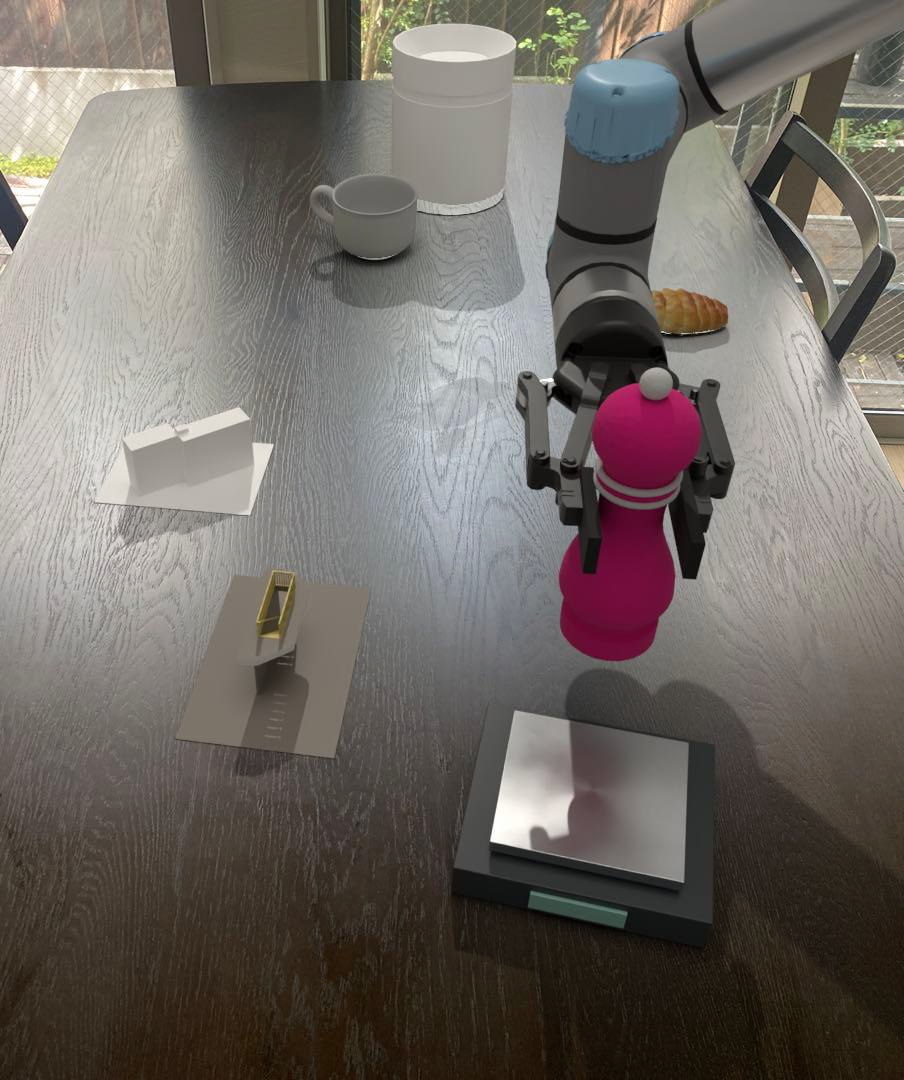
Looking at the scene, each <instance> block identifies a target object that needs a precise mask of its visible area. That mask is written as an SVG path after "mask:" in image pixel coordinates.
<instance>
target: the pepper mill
mask: <svg viewBox="0 0 904 1080" xmlns="http://www.w3.org/2000/svg"><path fill="white" fill-rule="evenodd" d="M672 386H673V380H672V377H671V375H670V374H669V373H668V371H666V370H665V369H662V368H651V369H649V370H647V371H646V372H645V373H644V374H643V375H642V377H641V378H640V382H639V383H635V384H631V385H628V386H625V387H623V388H620V389H618V390H616V391H615V392H613V393H612V394H611V395H609V396H608V398H607V399H606V400H605V401H604V402H603V403H602V404H601V406H600V408H599V410H598V411H597V413H596V416H595V419H594V423H593V427H592V445H593V449H594V451H595V453H596V455H597V457H596V459H595V464H594V474H593V481H594V484H595V486H596V491H598V493H599V494H598V498H597V500H598V508H599V516H600V524H601V532H602V543H601V548H600V554H599V559H598V565H597V570H596V574H582V565H581V554H580V544H579V534H578V533H577V534H576V535H575V536H574V538H573V539H572V540H571V542H570V544H569V546H568V548H567V549H566V551H565V552H564V554H563V557H562V560H561V564H560V569H559V572H558V585H559V590H560V593H561V595H562V597H563V598H562V603H561V607H560V615H559V628H560V631H561V634H562V635H563V637H564V638H565V640H566V641H567V642H568V643H569V645H570V646H571V647H573V648H574V649H576V650H577V651H578V652H580V653H581V654H583V655H585V656H587V657H590V658H591V659H592V658H593V659H596V660H600V661H605V662H623V661H628V660H633V659H636V658H638V657H639V656H641V655H643V654H645V652H647V651H648V650H649V649H650V648H651V646H652V645H653V643H654V642H655V638H656V634H657V629H658V627H659V623H660V617H661V616H663V615H664V613H665V612H666V611H667V610H668V608H669V607H670V605H671V603H672V601H673V598H674V595H675V594H674V593H675V587H676V577H677V576H676V569H675V562H674V561H675V560H674V558H673V555H672V552H671V550H670V546H669V544H668V541H667V538H666V534H665V529H664V519H665V513H666V510H667V508H668V504H669V503H670V502H672V501H673V500H674V499H675V498H676V497H677V495H678V493H679V491H680V483H681V481H682V478H683V470H684V469H685V468H687V467H688V466H689V464H690V463H691V462H692V461H693V459H694V458H695V456H696V455H697V452H698V449H699V446H700V441H701V424H700V419H699V415H698V413H697V411H696V409H695V407H694V406H693V404H692V403H691V402H690V401H689V400H688V399H687V398H686V397H685V396H684V395H683V394H681V393H680V392H678V391H677V390H675V389H672Z"/></svg>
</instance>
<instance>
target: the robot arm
mask: <svg viewBox="0 0 904 1080" xmlns="http://www.w3.org/2000/svg"><path fill="white" fill-rule="evenodd" d="M902 30H904V0H725V1H723V2H721V3H719V4H718V5H716V6H714V7H712V8H710V9H708V10H706V11H705V12H703V13H701V14H699V15H697V16H695V17H694V18H693V19H692V20H689V21H687V22H685V23H683V24H681V25H678V26H677V27H675V28H673V29H671V30H662V31H656V32H652V33H649V34H647V35H645V36H642V37H641V38H640V39H638V40H637V41H636V42H634V43H633V44H632V45H630V46H629V47H627V48H626V49H625V50H624V51H623V53H622V54H621V55H620V57H618V58H609V59H603V60H599V61H598V62H596V63H591V64H588V65H586V66H584V67H582V68H581V70H580V71H578V73H577V74H576V76H575V77H574V79H573V83H572V88H571V92H570V93H571V94H570V100H569V105H568V110H567V111H566V113H565V118H564V124H563V126H564V127H565V128H564V134H565V135H564V143H563V153H562V163H561V170H560V180H559V190H558V199H557V209H556V215H555V218H554V227H553V231H552V233H551V234H550V237H549V241H548V244H547V250H546V262H545V265H544V269H545V278H546V279H547V283H548V287H549V297H550V306H551V317H552V328H553V329H552V331H553V343H554V354H555V365H556V369H555V371H554V372H553V374H552V377H546V378H540V379H539V377H538V375H536V373H534V372H533V371H529V370H524V371H520V372H519V373H518V375H517V385H516V393H515V404H514V406H515V408H516V411H518V413H519V415H520V416H521V417H522V419H523V421H524V445H525V446H524V447H525V449H524V450H525V473H526V474H525V477H526V486H527V487H528V488H529V489H530V490H534V491H541V490H544V489H545V488H550V489H552V490H554V491H555V496H554V503H555V504H556V506H558V512H559V513H558V515H559V521H560V523H561V524H562V526H564V527H565V526H567V527H577V534H579V544H580V554H581V565H582V574H596V570H597V565H598V559H599V554H600V548H601V543H602V532H601V524H600V516H599V508H598V493H597V489H596V486H595V484H594V481H593V474H594V471H595V466H586V463H587V460H588V457H589V453H590V450H591V446H592V445H593V441H592V427H593V423H594V419H595V416H596V413H597V411H598V410H599V408H600V406H601V404H602V403H603V402H604V401H605V400H606V399H607V398H608V396H609V395H611V394H612V393H613V392H615V391H616V390H618V389H620V388H623V387H625V386H628V385H631V384H635V383H639V382H640V378H641V377H642V375H643V374H644V373H645V372H646V371H647V370H649V369H651V368H662V369H665V370H666V371H668V373H669V374H670V375H671V377H672V380H673V386H672V389H675V390H677V391H678V392H680V393H681V394H683V395H684V396H685V397H686V398H687V399H688V400H689V401H690V402H691V403H692V404H693V406H694V407H695V409H696V411H697V413H698V415H699V419H700V424H701V441H700V446H699V449H698V452H697V455H696V456H695V458H694V459H693V461H692V462H691V463H690V464H689V466H688V467H687V468H685V469H684V470H683V478H682V481H681V483H680V491H679V493H678V495H677V497H676V498H675V499H674V500H673V501H672V502H670V503H669V504H667V508H668V513H669V519H670V523H671V527H672V534H673V538H674V542H675V548H676V552H677V559H678V562H679V567H680V572H681V578H682V580H697V578H698V575H699V570H700V568H701V567H700V566H701V564H702V559H703V555H704V552H705V548H706V544H707V543H706V539H705V534H707V532H708V530H709V529H710V524H711V520H712V516H713V512H714V505H713V502H712V499H714V500H723V499H725V498H726V497H727V495H728V492H729V489H730V484H731V481H732V477H733V473H734V470H735V466H736V462H735V458H734V455H733V451H732V448H731V445H730V442H729V438H728V435H727V431H726V428H725V424H724V421H723V418H722V415H721V412H720V411H721V410H720V409H719V406H718V397H719V393H720V389H721V383H720V381H718V380H716V379H713V378H706V379H703V380H702V381H701V384H700V386H695V385H689V384H685V383H680V382H681V381H680V378H679V376H678V375H677V374H676V373H675V372H674V371H672V370H671V369H670V367H669V361H668V355H667V351H666V347H665V341H664V339H663V334H661V330H660V325H659V321H658V317H657V313H656V309H655V305H654V302H653V298H652V292H651V291H652V290H651V285H650V280H649V265H650V259H651V255H652V254H651V253H652V249H653V243H654V237H655V232H656V227H657V221H658V214H659V209H660V204H661V198H662V194H663V188H664V184H665V179H666V174H667V170H668V166H669V163H670V162H671V159H672V158H673V156H674V153H675V152H676V149H677V148H678V146H679V143H680V142H681V140H682V138H683V136H684V134H685V133H688V132H689V131H692V130H694V129H696V128H698V127H699V126H702V125H704V124H706V123H709V122H710V121H712V120H716V119H717V118H719V117H721V116H723V115H725V114H727V113H729V112H730V111H732V110H734V109H736V108H738V107H741V106H743V105H745V104H747V103H749V102H751V101H754V100H756V99H758V98H760V97H762V96H764V95H766V94H768V93H770V92H772V91H774V90H776V89H779V88H781V87H783V86H785V85H787V84H790V83H792V82H794V81H796V80H798V79H800V78H803V77H805V76H807V75H809V74H811V73H813V72H815V71H818V70H819V69H822V68H824V67H825V66H828V65H830V64H833V63H834V62H837V61H838V60H840V59H842V58H844V57H847V56H849V55H851V54H854V53H855V52H858V51H859V50H862V49H865V48H866V47H868V46H871V45H873V44H875V43H877V42H879V41H881V40H883V39H885V38H887V37H890V36H892V35H894V34H896V33H897V32H900V31H902ZM552 399H554V400H555V401H556V402H557V403H559V404H560V405H562V406H563V407H564V408H566V409H567V410H568V411H570V412H571V413H572V414H573V415H575V417H574V419H573V422H572V425H571V428H570V431H569V433H568V436H567V440H566V443H565V446H564V449H563V451H562V455H561V457H560V458H557V457H553V456H551V446H550V445H551V444H550V431H549V430H550V428H549V413H548V412H549V411H548V410H549V409H548V408H549V407H550V406H551V403H552Z"/></svg>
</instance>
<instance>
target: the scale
mask: <svg viewBox="0 0 904 1080" xmlns="http://www.w3.org/2000/svg"><path fill="white" fill-rule="evenodd" d="M515 710H516V711H521V712H526V713H532V714H537V715H542V716H548V717H553V718H558V719H564V720H569V721H574V722H580V723H585V724H590V725H596V726H601V727H606V728H612V729H617V730H622V731H628V732H633V733H638V734H644V735H649V736H654V737H660V738H665V739H671V740H676V741H681V742H687V743H689V756H688V786H687V817H686V848H685V879H684V885H683V888H682V891H678V890H674V889H669V888H664V887H659V886H655V885H650V884H645V883H641V882H636V881H631V880H627V879H622V878H617V877H612V876H608V875H603V874H598V873H594V872H589V871H584V870H579V869H575V868H570V867H565V866H561V865H556V864H551V863H547V862H542V861H537V860H532V859H528V858H523V857H518V856H514V855H509V854H504V853H499V852H495V851H490V850H489V842H490V837H491V831H492V826H493V821H494V815H495V810H496V805H497V800H498V794H499V789H500V784H501V778H502V773H503V768H504V763H505V757H506V752H507V747H508V741H509V736H510V731H511V726H512V720H513V715H514V711H515ZM715 758H716V745H715V744H714V743H709V742H704V741H697V740H693V739H687V738H682V737H676V736H671V735H665V734H661V733H657V732H651V731H645V730H641V729H640V730H638V729H634V728H628V727H623V726H619V725H618V726H617V725H614V724H613V725H612V724H606V723H601V722H596V721H590V720H585V719H580V718H575V717H570V716H566V715H565V716H564V715H559V714H554V713H548V712H544V711H543V712H542V711H537V710H532V709H527V708H521V707H517V706H516V707H515V706H510V705H505V704H499V703H495V702H488V703H487V705H486V711H485V716H484V720H483V725H482V729H481V735H480V739H479V744H478V748H477V754H476V759H475V762H474V768H473V772H472V777H471V781H470V786H469V790H468V795H467V800H466V804H465V810H464V813H463V819H462V824H461V828H460V833H459V837H458V841H457V842H458V843H457V847H456V852H455V855H454V860H453V865H452V872H451V873H452V874H451V885H450V886H451V887H450V892H451V893H452V894H456V895H460V896H464V897H470V898H474V899H477V900H478V899H479V900H484V901H488V902H492V903H498V904H501V905H506V906H511V907H515V908H520V909H524V910H529V911H532V912H538V913H542V914H547V915H551V916H555V917H561V918H563V919H569V920H574V921H578V922H581V923H582V922H583V923H587V924H591V925H597V926H601V927H605V928H610V929H614V930H619V931H623V932H627V933H632V934H637V935H642V936H647V937H649V938H650V937H651V938H655V939H660V940H663V941H664V940H665V941H669V942H672V943H678V944H683V945H687V946H691V947H695V948H700V949H704V947H705V945H706V942H707V939H708V937H709V936H710V932H711V929H712V927H713V925H714V876H715V875H714V871H715V869H714V864H715V863H714V862H715V859H714V858H715V846H714V845H715V775H716V774H715V770H716V769H715V768H716V767H715V765H716V763H715V762H716V761H715V760H716V759H715Z"/></svg>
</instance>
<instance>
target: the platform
mask: <svg viewBox="0 0 904 1080" xmlns="http://www.w3.org/2000/svg"><path fill="white" fill-rule="evenodd" d="M371 591H372V588H369V587H368V588H367V587H359V586H350V585H339V584H329V583H322V582H321V583H319V582H311V581H310V582H309V581H307V580H306V579H304V578H302V577H300V576H298V575H296V572H293V571H287V570H285V569H282V568H273V567H269V568H267V569H265V570H264V571H263V575H262V577H261V576H253V575H243V574H233V577H232V579H231V582H230V585H229V588H228V590H227V593H226V596H225V599H224V602H223V604H222V607H221V610H220V613H219V616H218V617H217V622H216V624H215V627H214V629H213V632H212V635H211V638H210V641H209V643H208V645H207V648H206V652H205V655H204V657H203V660H202V663H201V665H200V668H199V671H198V674H197V676H196V679H195V682H194V685H193V688H192V691H191V694H190V696H189V699H188V702H187V703H186V706H185V707H186V708H185V710H184V712H183V716H182V718H181V720H180V721H181V722H180V723H179V726H178V729H177V733H176V736H175V737H174V739H175V740H182V741H189V742H197V743H205V744H214V745H223V746H231V747H239V748H246V749H255V750H263V751H271V752H279V753H285V754H286V753H287V754H293V755H303V756H311V757H320V758H326V759H327V758H329V759H335V758H336V753H337V748H338V744H339V740H340V739H339V738H340V736H341V735H340V734H341V731H342V725H343V721H344V717H345V712H346V707H347V702H348V697H349V694H350V689H351V684H352V680H353V674H354V670H355V664H356V661H357V656H358V651H359V647H360V646H359V645H360V641H361V637H362V633H363V629H364V623H365V619H366V616H367V615H366V614H367V610H368V606H369V601H370V596H371Z"/></svg>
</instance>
